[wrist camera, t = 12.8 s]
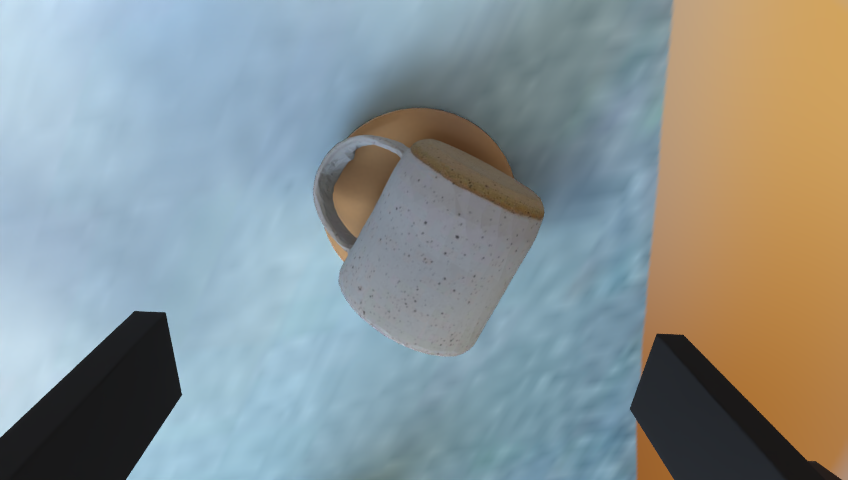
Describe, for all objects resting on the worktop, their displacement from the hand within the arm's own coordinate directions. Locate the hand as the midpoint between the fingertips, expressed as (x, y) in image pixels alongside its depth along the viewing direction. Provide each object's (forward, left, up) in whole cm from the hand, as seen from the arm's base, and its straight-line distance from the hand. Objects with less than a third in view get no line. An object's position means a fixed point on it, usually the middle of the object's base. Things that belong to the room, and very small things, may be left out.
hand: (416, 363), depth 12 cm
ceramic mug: (0, 0, -13) cm, 13 cm away
